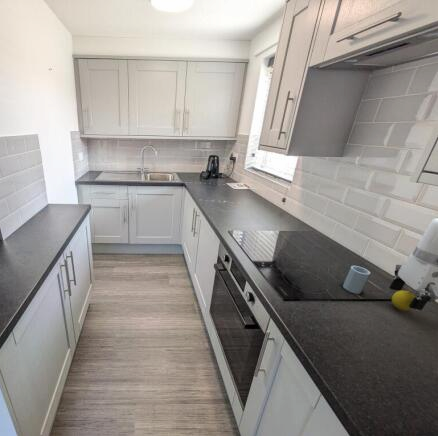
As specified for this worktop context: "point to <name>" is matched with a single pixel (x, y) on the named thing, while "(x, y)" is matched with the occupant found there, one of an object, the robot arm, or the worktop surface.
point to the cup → (356, 279)
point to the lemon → (402, 300)
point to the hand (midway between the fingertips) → (404, 298)
